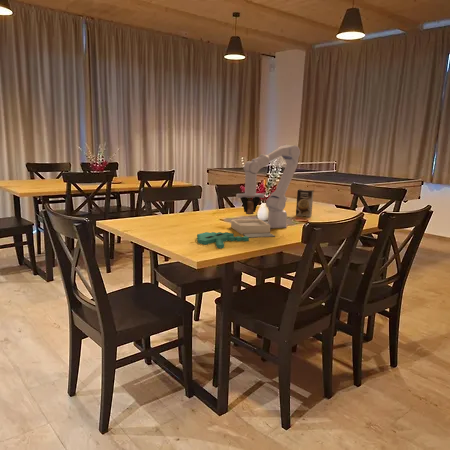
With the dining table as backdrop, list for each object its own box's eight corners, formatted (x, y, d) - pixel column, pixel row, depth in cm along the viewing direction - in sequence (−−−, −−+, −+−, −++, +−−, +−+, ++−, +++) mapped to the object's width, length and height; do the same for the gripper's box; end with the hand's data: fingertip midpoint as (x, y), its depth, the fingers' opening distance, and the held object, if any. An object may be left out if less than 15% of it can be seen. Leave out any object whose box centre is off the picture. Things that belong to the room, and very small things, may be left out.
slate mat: (269, 233, 204) (269, 232, 204) (274, 236, 197) (274, 235, 197) (242, 234, 200) (242, 233, 200) (247, 237, 194) (247, 237, 193)
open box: (258, 226, 220) (259, 218, 219) (269, 232, 205) (270, 225, 204) (231, 227, 216) (231, 219, 215) (240, 234, 201) (240, 226, 200)
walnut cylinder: (251, 212, 213) (252, 201, 212) (254, 214, 209) (255, 202, 208) (244, 213, 212) (245, 201, 210) (247, 214, 208) (247, 202, 207)
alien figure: (248, 241, 189) (215, 234, 201) (248, 236, 188) (215, 229, 201) (220, 249, 174) (186, 241, 186) (220, 244, 173) (187, 236, 185)
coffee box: (295, 216, 253) (297, 189, 250) (297, 214, 259) (299, 188, 255) (310, 217, 250) (312, 191, 246) (311, 215, 256) (313, 189, 252)
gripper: (239, 186, 202) (238, 213, 204) (267, 186, 206) (265, 212, 208) (235, 184, 208) (234, 211, 211) (261, 184, 212) (260, 210, 215)
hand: (249, 211), depth 210 cm, fingers closed on walnut cylinder, 4 cm apart
